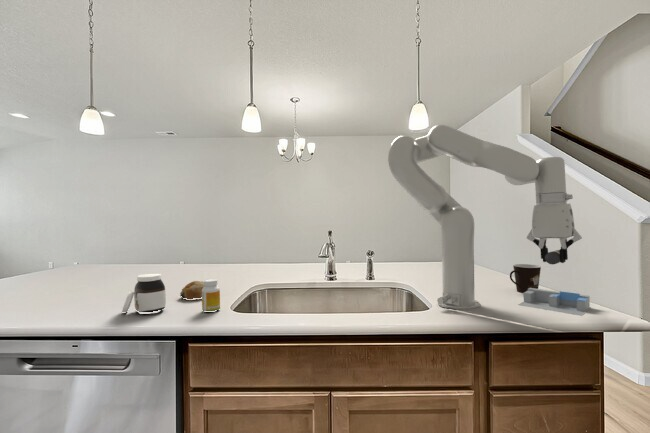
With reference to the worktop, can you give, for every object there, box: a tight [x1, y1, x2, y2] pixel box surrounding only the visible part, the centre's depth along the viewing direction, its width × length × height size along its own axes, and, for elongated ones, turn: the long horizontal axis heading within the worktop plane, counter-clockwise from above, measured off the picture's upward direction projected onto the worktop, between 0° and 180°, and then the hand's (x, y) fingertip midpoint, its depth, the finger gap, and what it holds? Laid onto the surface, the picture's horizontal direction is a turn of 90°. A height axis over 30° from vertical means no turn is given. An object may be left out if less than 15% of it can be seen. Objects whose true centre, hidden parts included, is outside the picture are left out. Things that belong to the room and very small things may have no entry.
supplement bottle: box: [201, 278, 221, 312], centre depth 108 cm, size 5×5×10 cm
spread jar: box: [121, 273, 167, 313], centre depth 108 cm, size 12×11×12 cm
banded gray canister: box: [545, 249, 561, 265], centre depth 103 cm, size 8×4×4 cm, turn 132°
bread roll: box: [179, 280, 205, 299], centre depth 126 cm, size 10×10×8 cm
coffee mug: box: [509, 263, 542, 294], centre depth 124 cm, size 12×9×10 cm
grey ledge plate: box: [517, 288, 592, 317], centre depth 105 cm, size 12×16×5 cm
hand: (554, 261), depth 101 cm, fingers closed on banded gray canister, 3 cm apart
